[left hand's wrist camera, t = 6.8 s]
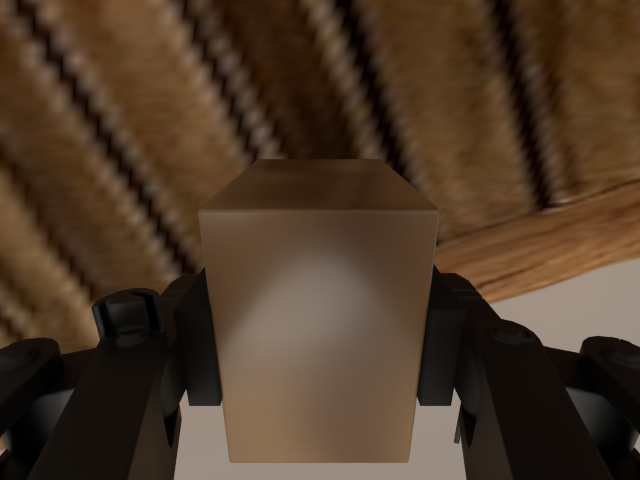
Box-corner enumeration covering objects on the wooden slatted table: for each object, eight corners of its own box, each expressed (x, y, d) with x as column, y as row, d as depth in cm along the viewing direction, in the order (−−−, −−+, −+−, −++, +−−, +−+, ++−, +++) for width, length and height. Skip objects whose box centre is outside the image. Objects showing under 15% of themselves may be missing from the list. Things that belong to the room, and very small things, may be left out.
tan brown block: (266, 315, 16) (228, 464, 10) (256, 158, 14) (195, 209, 7) (372, 315, 16) (409, 464, 10) (381, 159, 14) (442, 209, 7)
